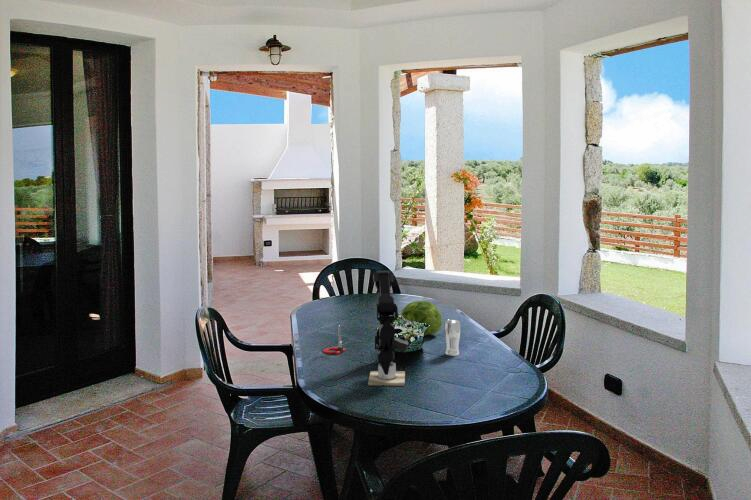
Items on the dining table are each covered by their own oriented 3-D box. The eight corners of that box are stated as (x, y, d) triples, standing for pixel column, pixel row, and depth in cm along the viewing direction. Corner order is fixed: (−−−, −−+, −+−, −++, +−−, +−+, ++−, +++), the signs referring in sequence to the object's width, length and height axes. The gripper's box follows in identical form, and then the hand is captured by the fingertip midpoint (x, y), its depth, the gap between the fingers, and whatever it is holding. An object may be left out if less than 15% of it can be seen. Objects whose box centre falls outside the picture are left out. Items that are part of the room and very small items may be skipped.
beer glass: (463, 355, 271) (463, 322, 269) (449, 357, 268) (449, 323, 266) (455, 350, 277) (455, 318, 275) (441, 352, 275) (441, 320, 273)
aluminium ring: (379, 373, 244) (378, 361, 244) (395, 373, 244) (395, 361, 243) (377, 379, 238) (377, 367, 237) (395, 379, 237) (395, 367, 236)
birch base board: (370, 373, 248) (370, 370, 248) (404, 373, 247) (404, 370, 247) (368, 385, 234) (368, 382, 234) (404, 385, 233) (404, 382, 233)
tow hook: (320, 353, 278) (337, 355, 273) (318, 326, 276) (335, 327, 272) (330, 349, 285) (347, 350, 280) (328, 322, 284) (345, 323, 279)
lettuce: (410, 310, 323) (391, 296, 310) (449, 307, 309) (430, 292, 296) (404, 342, 315) (384, 329, 302) (444, 341, 301) (425, 327, 288)
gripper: (406, 338, 229) (407, 378, 231) (407, 326, 247) (407, 363, 249) (377, 338, 229) (377, 378, 231) (379, 326, 248) (380, 363, 250)
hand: (387, 370), depth 240 cm, fingers open, 9 cm apart
